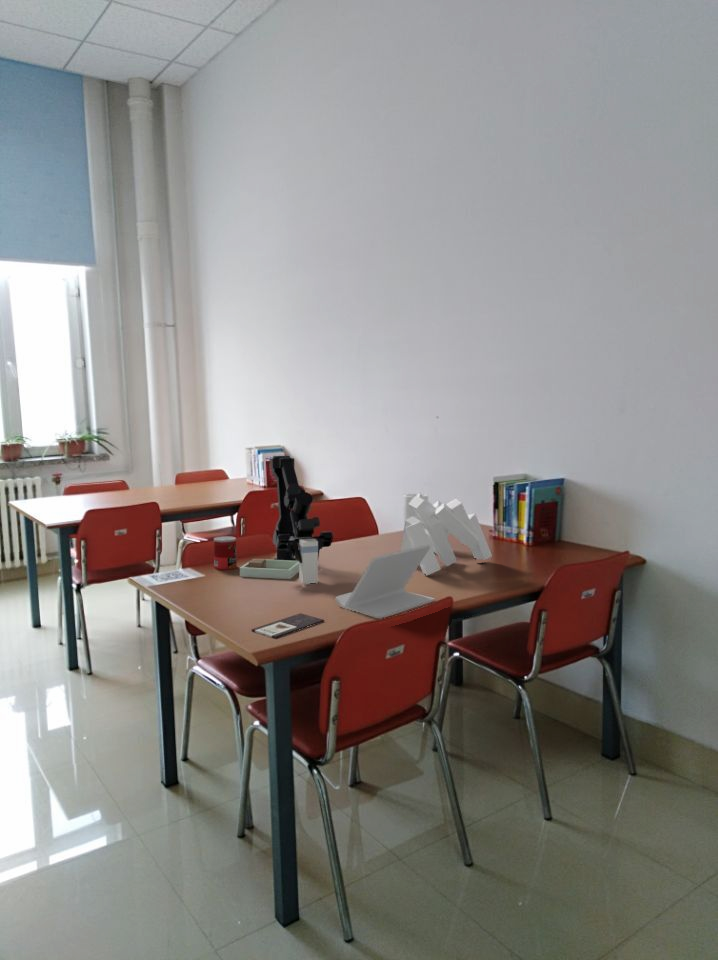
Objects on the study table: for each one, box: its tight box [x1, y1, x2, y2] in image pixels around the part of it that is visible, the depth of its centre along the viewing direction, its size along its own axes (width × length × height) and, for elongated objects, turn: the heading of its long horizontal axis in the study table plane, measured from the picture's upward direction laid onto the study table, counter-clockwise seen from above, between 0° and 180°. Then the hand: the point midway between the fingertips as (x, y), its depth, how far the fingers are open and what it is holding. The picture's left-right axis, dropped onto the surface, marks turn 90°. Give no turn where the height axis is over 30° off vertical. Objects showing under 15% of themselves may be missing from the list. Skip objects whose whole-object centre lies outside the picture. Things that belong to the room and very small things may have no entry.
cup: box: [402, 493, 429, 529], centre depth 287 cm, size 10×10×22 cm
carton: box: [298, 538, 319, 585], centre depth 234 cm, size 5×5×14 cm
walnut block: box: [248, 558, 267, 568], centre depth 246 cm, size 5×4×4 cm
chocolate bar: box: [251, 613, 325, 639], centre depth 189 cm, size 9×1×18 cm
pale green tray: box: [239, 558, 299, 580], centre depth 245 cm, size 14×18×4 cm
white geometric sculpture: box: [400, 492, 493, 576], centre depth 254 cm, size 35×30×35 cm
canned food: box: [213, 535, 238, 571], centre depth 252 cm, size 8×8×11 cm
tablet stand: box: [335, 545, 435, 619], centre depth 210 cm, size 18×25×17 cm
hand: (309, 561), depth 232 cm, fingers closed on carton, 5 cm apart
